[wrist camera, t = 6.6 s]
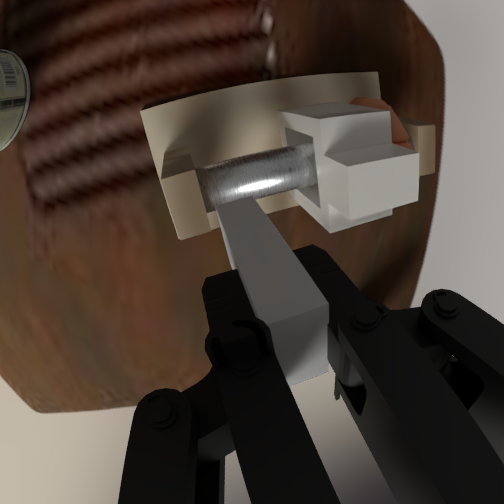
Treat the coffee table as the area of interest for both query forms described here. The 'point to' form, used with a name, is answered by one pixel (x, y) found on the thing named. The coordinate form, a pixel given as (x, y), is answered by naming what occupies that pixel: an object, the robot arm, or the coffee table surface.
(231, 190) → the pipe
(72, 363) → the coffee table surface
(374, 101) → the o ring
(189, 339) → the coffee table surface
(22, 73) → the coffee can
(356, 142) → the sleeve
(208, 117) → the linear slide rail
